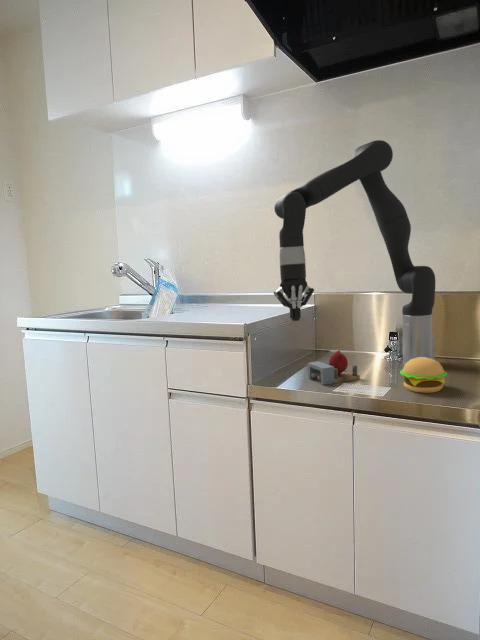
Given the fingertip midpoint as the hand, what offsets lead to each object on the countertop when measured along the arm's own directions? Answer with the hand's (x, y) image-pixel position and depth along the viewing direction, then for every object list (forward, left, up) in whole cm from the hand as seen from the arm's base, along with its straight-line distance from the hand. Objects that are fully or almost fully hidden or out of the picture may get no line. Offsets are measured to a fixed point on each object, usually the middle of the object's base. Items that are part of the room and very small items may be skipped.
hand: (295, 320), depth 134 cm
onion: (-14, +1, -19) cm, 23 cm away
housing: (-7, +1, -19) cm, 21 cm away
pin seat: (-12, +1, -19) cm, 23 cm away
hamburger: (-27, +23, -20) cm, 41 cm away
